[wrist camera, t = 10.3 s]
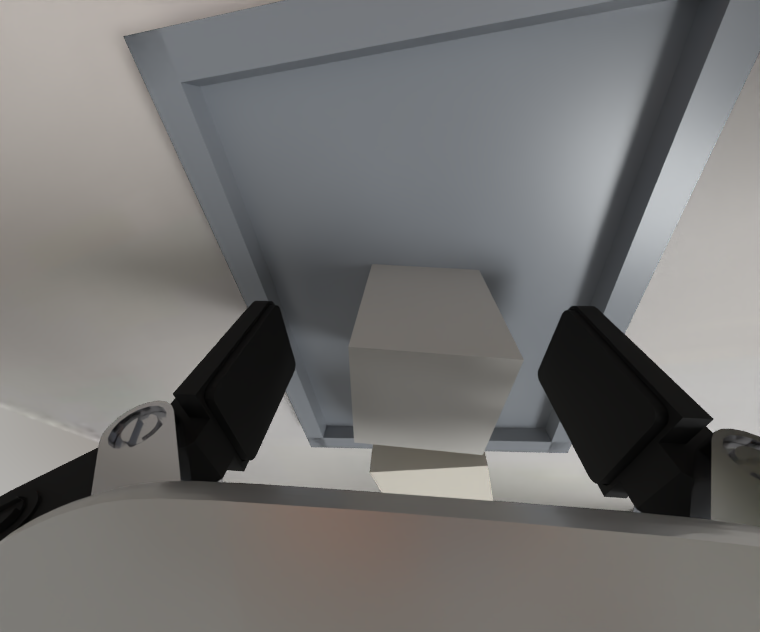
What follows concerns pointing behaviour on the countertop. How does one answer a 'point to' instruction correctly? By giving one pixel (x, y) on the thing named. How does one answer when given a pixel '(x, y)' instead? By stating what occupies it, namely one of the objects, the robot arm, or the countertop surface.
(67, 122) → the countertop surface
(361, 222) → the tray
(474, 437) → the pebble grey
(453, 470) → the cream foam cube
